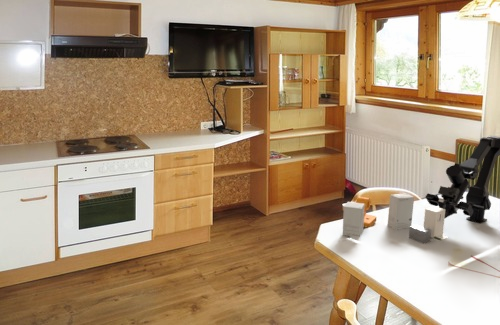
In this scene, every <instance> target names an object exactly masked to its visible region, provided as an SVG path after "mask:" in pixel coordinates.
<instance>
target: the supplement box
mask: <svg viewBox="0 0 500 325" xmlns="http://www.w3.org/2000/svg"><path fill="white" fill-rule="evenodd" d="M364 208H365V204H363V203H356V201H355V202H354V201H353V202H352V201H347V202H346V203H345V204H344V206H343V217H342V218H343V219H342V236H346V237H349V235H351V236H359V237H361V236H362V234H363V232H364V227H363V226H364Z"/></svg>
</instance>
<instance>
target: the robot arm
mask: <svg viewBox="0 0 500 325" xmlns="http://www.w3.org/2000/svg"><path fill="white" fill-rule="evenodd" d="M499 156H500V136H496V135H488V136H487V137H481V138H480V139H479V142H478V144H477V146H476V147H475V149H474V150H473V152H472V154H470V156H469V158H468V159H466V160H464V161H462V162H461V163H456V162H455V163H454V164H453V165H449V167H447V168H446V170H445V173H446V176H447V178H448V179H449V180H448V181H450V183H452V184H451V185H450V187H449V186H448V187H446V186H444V185H440V186H439V189H438V192H437V193H438V194H440V197H439V196H438V194H436V193H432V192H428V193H426V195H425V200H426V201H427V202H428V204H429V205H431V206H436V207H439V208H442V209H445V218H444V220H445V219H447V218H449V217H451V216H452V215H454V214H455V215H456V214H458V212H457V211H458V210H461V211H462V213H463V215H465V216H468V217H466V220H468V221H472V222H475V223H479V224H481V223H484V222H486V221H488V219H487V218H485V213H486V211H487V210H488V211H489V210H490V209H491V205H492V202H491V200H490V198H489V196H490V194H489V190H488V189H489V188H488V186H489V183H490V180H491V177H492V174H493V171H494V168H495V164H496V162H497V159H498V158H499ZM481 163H482V164H481ZM480 165H481V167H480ZM479 168H480V169H479ZM470 180H471V181H474V180H476V182H475V184H474V185H470V182H469V181H470ZM467 189H468V190H467ZM466 191H467V194H466V195H465V201H463V200H464V194H465V192H466Z"/></svg>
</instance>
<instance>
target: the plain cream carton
mask: <svg viewBox="0 0 500 325" xmlns="http://www.w3.org/2000/svg"><path fill="white" fill-rule="evenodd" d="M444 218H445V209H442V208H439V206H434V205H432V206H431V207H430V206H429V207H427V208H425V209H424V217H423V219H424V221H423V227H425V228H428V229H431V230H432V231H431V239H434V238H436V239H439V240H440V241H442V240H441V238H438V237H440V236H442V235H444V228H445V227H444V226H445V219H446V218H445V219H444Z"/></svg>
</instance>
